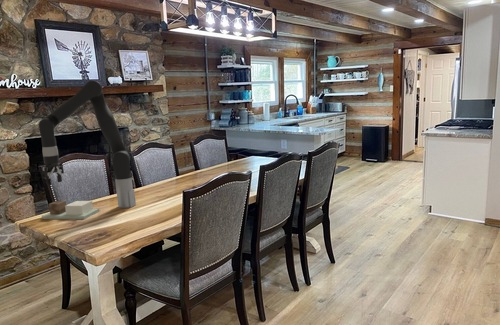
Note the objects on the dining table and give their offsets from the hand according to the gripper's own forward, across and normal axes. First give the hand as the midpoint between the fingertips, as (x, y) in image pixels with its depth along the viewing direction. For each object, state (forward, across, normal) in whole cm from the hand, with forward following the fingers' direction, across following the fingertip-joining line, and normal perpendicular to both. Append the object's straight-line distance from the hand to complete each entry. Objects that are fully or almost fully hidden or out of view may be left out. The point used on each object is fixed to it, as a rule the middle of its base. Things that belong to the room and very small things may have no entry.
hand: (54, 183), depth 212 cm
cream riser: (+17, +2, -12) cm, 21 cm away
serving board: (+18, +1, -7) cm, 20 cm away
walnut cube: (+17, 0, 0) cm, 17 cm away
